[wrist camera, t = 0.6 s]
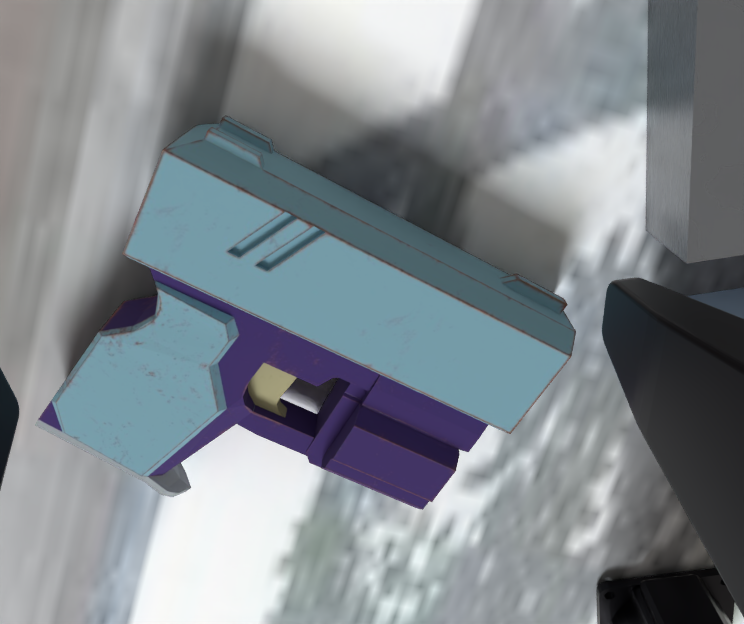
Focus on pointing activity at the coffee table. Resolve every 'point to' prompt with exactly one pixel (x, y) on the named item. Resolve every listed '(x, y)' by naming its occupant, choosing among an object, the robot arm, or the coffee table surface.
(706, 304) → the robot arm
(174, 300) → the pistol
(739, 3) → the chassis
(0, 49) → the coffee table surface
